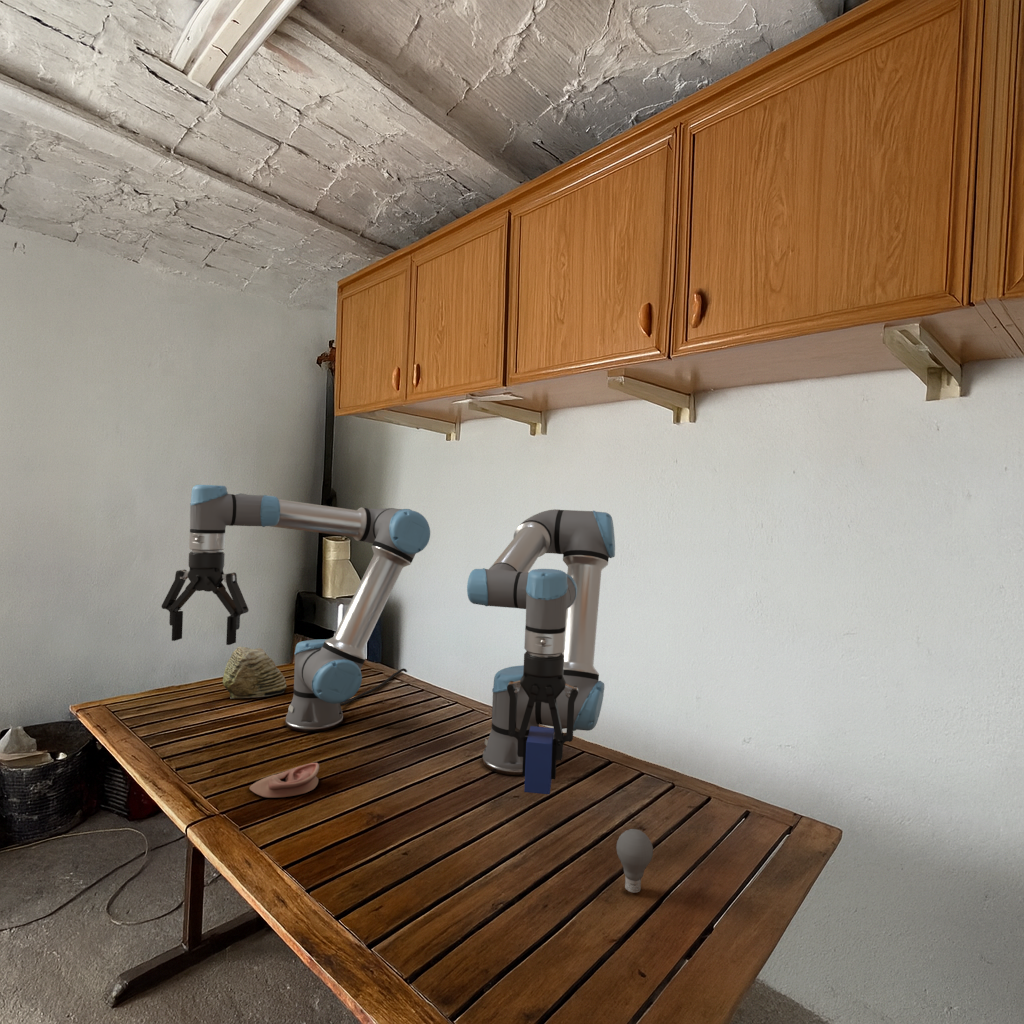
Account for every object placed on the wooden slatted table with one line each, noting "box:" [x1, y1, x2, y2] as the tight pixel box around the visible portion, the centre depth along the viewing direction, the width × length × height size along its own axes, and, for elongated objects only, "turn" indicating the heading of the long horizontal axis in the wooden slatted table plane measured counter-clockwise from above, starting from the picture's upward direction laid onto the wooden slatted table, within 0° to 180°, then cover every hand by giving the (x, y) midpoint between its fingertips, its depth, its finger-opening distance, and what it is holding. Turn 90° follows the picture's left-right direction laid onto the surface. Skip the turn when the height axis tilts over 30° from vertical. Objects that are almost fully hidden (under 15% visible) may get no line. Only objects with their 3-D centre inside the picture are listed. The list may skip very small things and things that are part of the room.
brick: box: [523, 726, 555, 795], centre depth 119 cm, size 5×8×9 cm, turn 173°
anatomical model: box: [249, 762, 320, 799], centre depth 137 cm, size 13×4×12 cm
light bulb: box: [615, 828, 654, 894], centre depth 106 cm, size 6×6×10 cm
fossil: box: [222, 646, 288, 699], centre depth 198 cm, size 9×18×15 cm, turn 132°
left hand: (203, 641), depth 148 cm, fingers open, 13 cm apart
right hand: (539, 774), depth 119 cm, fingers closed on brick, 5 cm apart
